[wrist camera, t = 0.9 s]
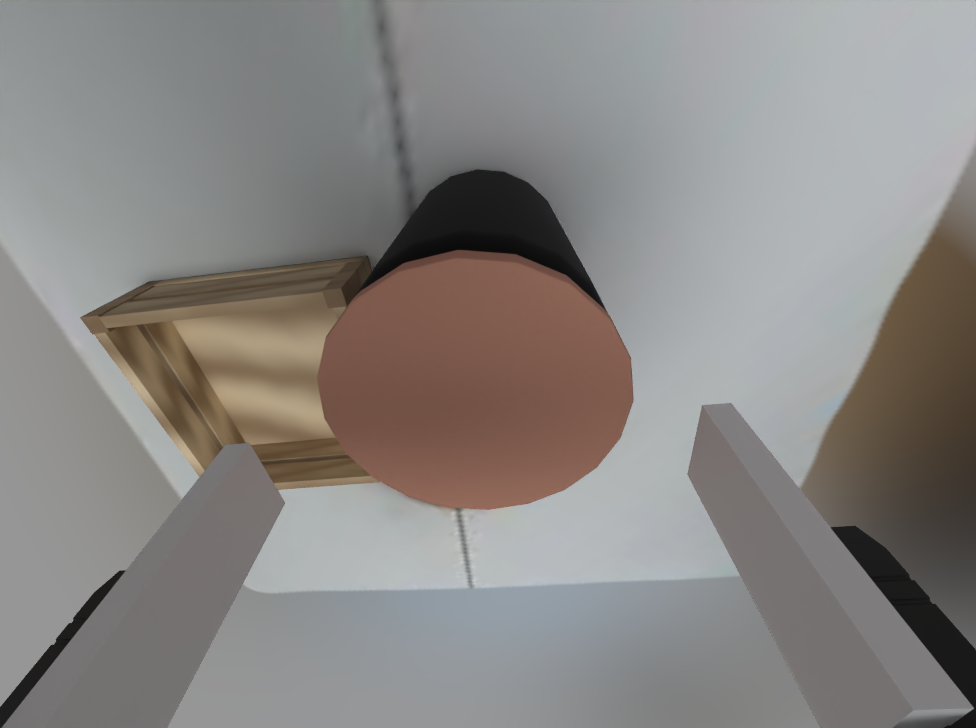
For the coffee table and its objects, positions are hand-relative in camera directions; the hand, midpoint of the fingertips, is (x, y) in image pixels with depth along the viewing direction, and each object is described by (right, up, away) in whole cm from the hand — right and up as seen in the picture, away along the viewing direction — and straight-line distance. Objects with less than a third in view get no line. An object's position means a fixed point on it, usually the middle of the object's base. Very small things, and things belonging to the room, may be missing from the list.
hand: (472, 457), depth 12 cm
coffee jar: (0, +11, +17) cm, 20 cm away
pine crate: (-16, +3, +22) cm, 27 cm away
